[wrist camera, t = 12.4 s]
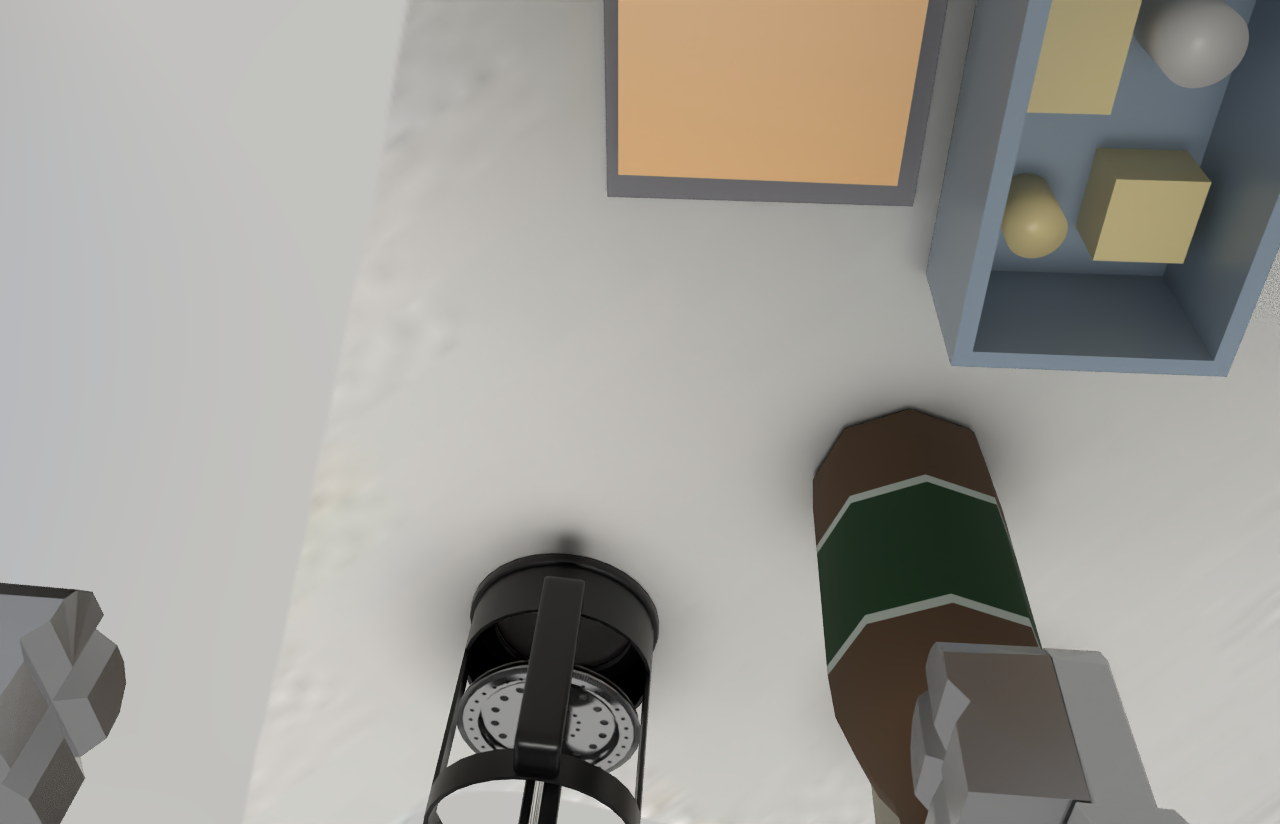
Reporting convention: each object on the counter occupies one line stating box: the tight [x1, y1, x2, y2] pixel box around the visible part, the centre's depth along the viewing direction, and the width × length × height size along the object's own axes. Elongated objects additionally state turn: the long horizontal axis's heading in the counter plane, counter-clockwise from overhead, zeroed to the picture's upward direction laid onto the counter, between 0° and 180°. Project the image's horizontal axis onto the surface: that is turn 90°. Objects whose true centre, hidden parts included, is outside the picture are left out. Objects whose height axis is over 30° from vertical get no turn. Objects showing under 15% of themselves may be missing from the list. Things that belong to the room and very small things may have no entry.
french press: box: [423, 554, 659, 824], centre depth 45 cm, size 12×9×23 cm
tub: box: [926, 0, 1280, 377], centre depth 35 cm, size 9×14×6 cm, turn 0°
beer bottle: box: [813, 409, 1042, 824], centre depth 38 cm, size 8×8×24 cm
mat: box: [604, 0, 948, 206], centre depth 36 cm, size 11×14×1 cm
